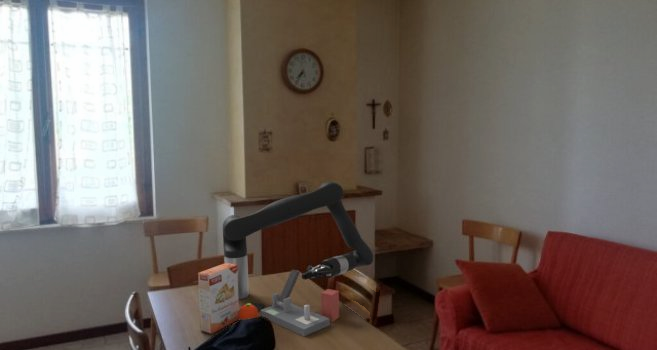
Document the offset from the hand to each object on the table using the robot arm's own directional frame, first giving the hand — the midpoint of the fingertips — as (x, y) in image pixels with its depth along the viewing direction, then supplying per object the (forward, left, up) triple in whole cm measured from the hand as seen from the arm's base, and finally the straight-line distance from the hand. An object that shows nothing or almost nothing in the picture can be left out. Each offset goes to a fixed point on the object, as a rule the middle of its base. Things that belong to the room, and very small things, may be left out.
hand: (303, 276), depth 188 cm
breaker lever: (-4, -10, -8) cm, 13 cm away
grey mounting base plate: (+3, -13, -12) cm, 18 cm away
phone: (-17, -13, -13) cm, 25 cm away
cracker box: (-19, -27, -12) cm, 35 cm away
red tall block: (+14, -6, -12) cm, 19 cm away
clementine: (-11, -21, -12) cm, 26 cm away
